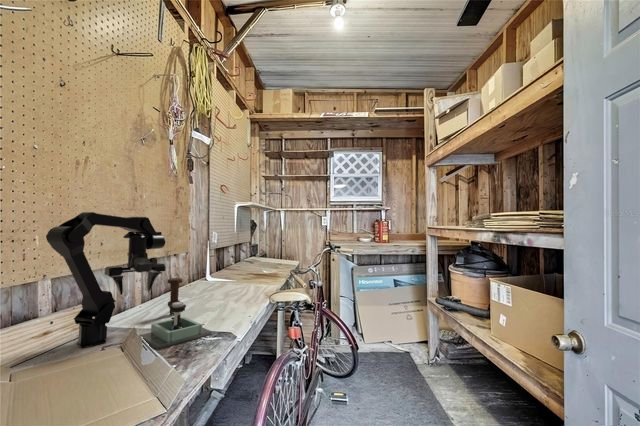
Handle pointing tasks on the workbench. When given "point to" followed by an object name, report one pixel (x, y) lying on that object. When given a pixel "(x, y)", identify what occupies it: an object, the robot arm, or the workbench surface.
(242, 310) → the workbench surface
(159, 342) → the mounting plate
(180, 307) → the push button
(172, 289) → the bolt
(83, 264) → the robot arm
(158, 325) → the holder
